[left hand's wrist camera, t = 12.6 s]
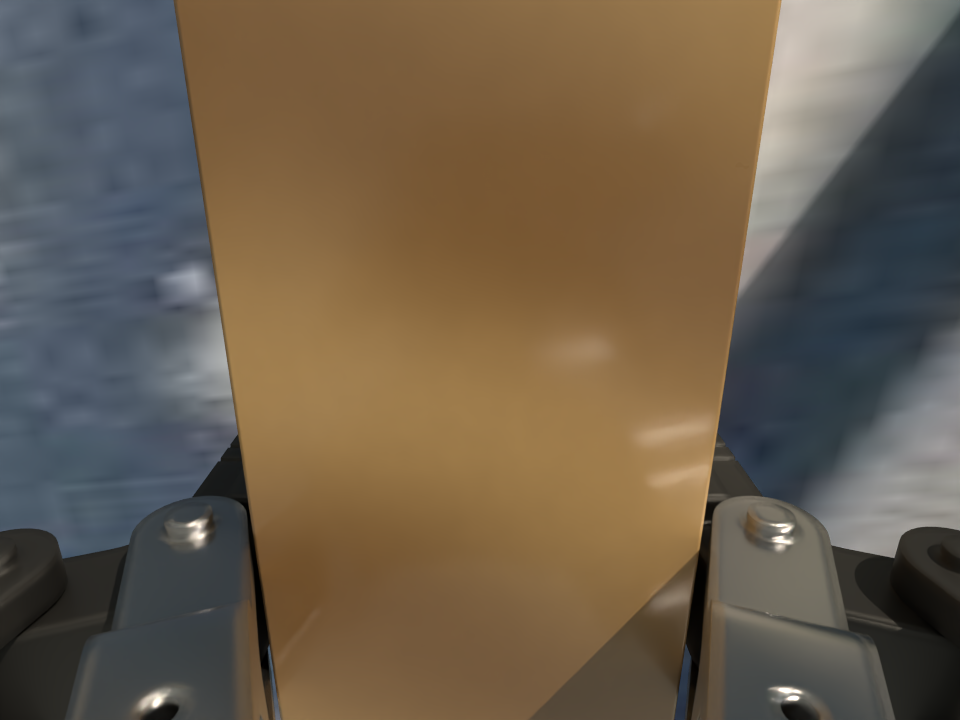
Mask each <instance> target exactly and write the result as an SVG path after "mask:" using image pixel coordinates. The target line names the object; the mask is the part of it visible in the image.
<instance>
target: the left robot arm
mask: <svg viewBox="0 0 960 720" xmlns="http://www.w3.org/2000/svg"><path fill="white" fill-rule="evenodd" d="M686 645H687V647H688V650H689V653H690V655H691V661H690V667H689V674H688V686H687V698H686V709H685V720H960V531H959V530H954V529H949V528H941V527H920V528H915V529H911V530H909V531H907V532H905V533H904V534H903V535H902V536H901V539H900V541H899V545H898V548H897V552H896V555H895V558H890V557H885V556H880V555H875V554H870V553H864V552H859V551H854V550H849V549H844V548H840V547H836V546H832V545H831V543H830V538H829V535H828V532H827V530H826V529H825V527H824V526H823V525H822V524H821V523H820V522H819V521H818V520H817V519H816V518H815V517H813V516H812V515H811V514H809V513H808V512H806V511H804V510H802V509H800V508H798V507H796V506H794V505H792V504H789V503H787V502H783V501H780V500H777V499H772V498H768V497H763V496H762V494H761V493H760V492H759V490H758V489H757V487H756V486H755V485H754V483H753V482H752V480H751V479H750V478H749V476H748V475H747V473H746V472H745V471H744V469H743V468H742V466H741V465H740V464H739V462H738V461H735V457H734V455H733V454H732V452H731V451H730V450H729V448H728V447H725V443H724V441H723V440H722V439H721V437H720V436H719V434H718V433H717V436H716V442H715V449H714V456H713V463H712V469H711V476H710V483H709V489H708V496H707V503H706V509H705V516H704V523H703V530H702V536H701V543H700V550H699V556H698V563H697V570H696V576H695V583H694V590H693V597H692V603H691V610H690V617H689V623H688V630H687V637H686ZM268 646H269V637H268V631H267V624H266V617H265V610H264V604H263V597H262V590H261V584H260V577H259V570H258V563H257V557H256V550H255V543H254V537H253V530H252V523H251V516H250V510H249V503H248V496H247V490H246V483H245V476H244V470H243V463H242V456H241V449H240V443H239V436H238V435H237V436H236V438H235V439H234V441H233V442H232V443H231V447H230V448H228V449H227V450H226V452H225V453H224V454H223V456H222V457H221V461H218V463H217V464H216V465H215V467H214V468H213V469H212V471H211V472H210V474H209V475H208V476H207V478H206V479H205V480H204V482H203V483H202V485H201V486H200V487H199V489H198V490H197V491H196V493H195V494H194V496H193V497H192V498H188V499H183V500H180V501H177V502H173V503H171V504H168V505H166V506H164V507H162V508H160V509H158V510H156V511H154V512H152V513H151V514H149V515H148V516H147V517H145V518H144V519H143V520H142V521H141V522H140V523H139V524H138V525H137V526H136V527H135V529H134V530H133V532H132V535H131V538H130V543H129V545H126V546H123V547H119V548H115V549H111V550H106V551H101V552H95V553H90V554H85V555H80V556H75V557H70V558H65V559H62V555H61V552H60V548H59V545H58V542H57V539H56V538H55V537H54V536H53V535H52V534H51V533H49V532H47V531H43V530H39V529H14V530H7V531H2V532H0V720H275V709H274V698H273V686H272V674H271V667H270V661H269V654H268Z"/></svg>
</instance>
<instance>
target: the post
mask: <svg viewBox="0 0 960 720" xmlns="http://www.w3.org/2000/svg"><path fill="white" fill-rule="evenodd" d="M174 6H175V13H176V20H177V27H178V33H179V40H180V47H181V53H182V60H183V67H184V73H185V80H186V87H187V94H188V100H189V107H190V114H191V120H192V127H193V134H194V141H195V147H196V154H197V161H198V167H199V174H200V181H201V188H202V194H203V201H204V208H205V214H206V221H207V228H208V235H209V241H210V248H211V255H212V261H213V268H214V275H215V282H216V288H217V295H218V302H219V308H220V315H221V322H222V329H223V335H224V342H225V349H226V355H227V362H228V369H229V376H230V382H231V389H232V396H233V402H234V409H235V416H236V423H237V429H238V436H239V443H240V449H241V456H242V463H243V470H244V476H245V483H246V490H247V496H248V503H249V510H250V516H251V523H252V530H253V537H254V543H255V550H256V557H257V563H258V570H259V577H260V584H261V590H262V597H263V604H264V610H265V617H266V624H267V631H268V637H269V644H270V651H271V657H272V664H273V671H274V678H275V684H276V691H277V698H278V704H279V711H280V718H281V720H674V717H675V711H676V704H677V697H678V690H679V684H680V677H681V670H682V664H683V657H684V650H685V644H686V637H687V630H688V623H689V617H690V610H691V603H692V597H693V590H694V583H695V576H696V570H697V563H698V556H699V550H700V543H701V536H702V530H703V523H704V516H705V509H706V503H707V496H708V489H709V483H710V476H711V469H712V463H713V456H714V449H715V442H716V436H717V429H718V422H719V416H720V409H721V402H722V396H723V389H724V382H725V375H726V369H727V362H728V355H729V349H730V342H731V335H732V329H733V322H734V315H735V308H736V302H737V295H738V288H739V282H740V275H741V268H742V261H743V255H744V248H745V241H746V235H747V228H748V221H749V215H750V208H751V201H752V194H753V188H754V181H755V174H756V168H757V161H758V154H759V148H760V141H761V134H762V127H763V121H764V114H765V107H766V101H767V94H768V87H769V81H770V74H771V67H772V60H773V54H774V47H775V40H776V34H777V27H778V20H779V13H780V7H781V0H174Z"/></svg>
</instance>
